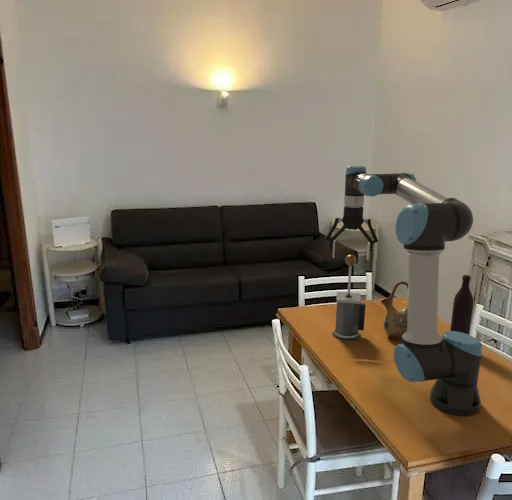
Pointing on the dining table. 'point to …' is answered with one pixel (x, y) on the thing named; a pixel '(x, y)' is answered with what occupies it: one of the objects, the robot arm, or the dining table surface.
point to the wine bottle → (462, 308)
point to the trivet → (346, 340)
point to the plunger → (350, 261)
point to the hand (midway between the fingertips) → (350, 258)
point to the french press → (349, 316)
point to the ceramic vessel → (395, 316)
